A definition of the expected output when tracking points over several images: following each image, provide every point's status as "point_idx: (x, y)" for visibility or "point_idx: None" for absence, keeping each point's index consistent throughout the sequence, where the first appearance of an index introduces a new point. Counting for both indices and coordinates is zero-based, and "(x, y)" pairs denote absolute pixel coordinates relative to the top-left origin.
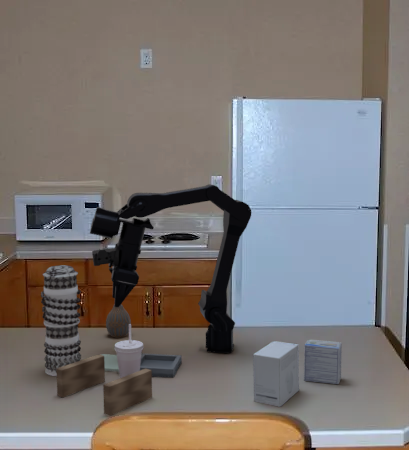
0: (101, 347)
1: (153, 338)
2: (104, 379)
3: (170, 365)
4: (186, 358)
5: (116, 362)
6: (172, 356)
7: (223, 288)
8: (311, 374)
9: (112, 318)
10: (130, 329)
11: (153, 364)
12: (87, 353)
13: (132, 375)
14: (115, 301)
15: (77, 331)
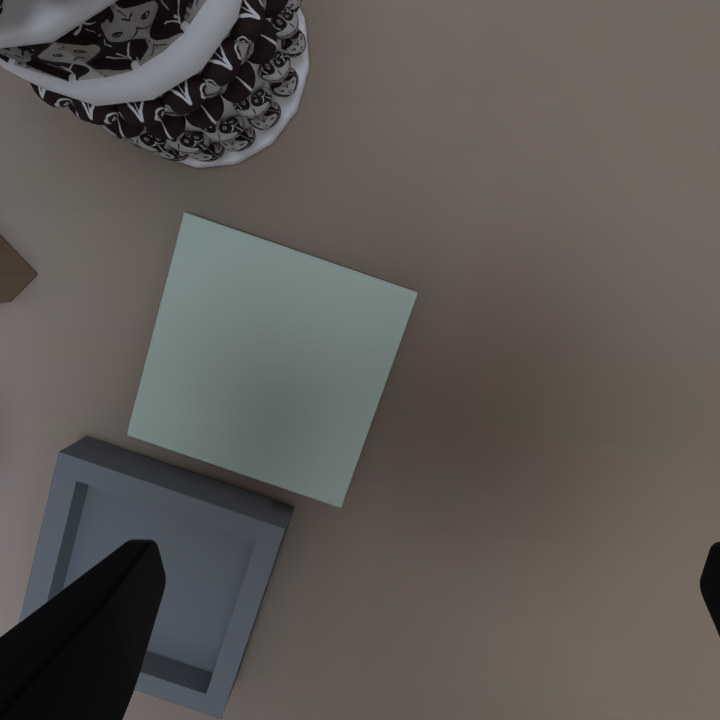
0: (598, 290)
1: (696, 608)
2: (1, 300)
3: (154, 636)
4: (303, 715)
5: (248, 373)
6: (213, 674)
7: None
8: None
9: None
10: None
11: (180, 560)
12: (494, 200)
13: None
14: (55, 602)
15: (54, 63)
